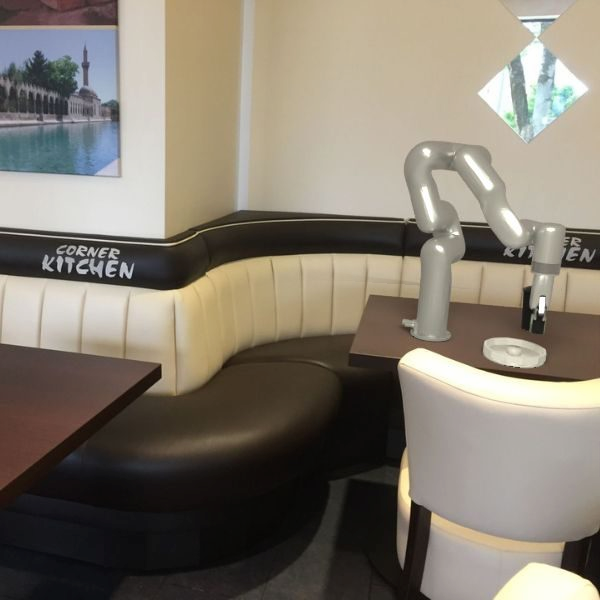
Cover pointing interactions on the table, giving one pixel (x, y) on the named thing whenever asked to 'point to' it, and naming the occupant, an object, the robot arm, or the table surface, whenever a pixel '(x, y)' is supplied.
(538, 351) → the ring tray
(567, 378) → the table surface
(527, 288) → the drinking cup
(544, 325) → the bead
